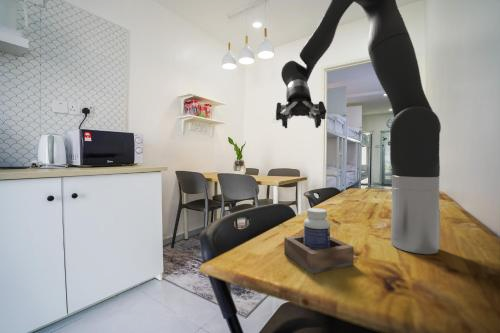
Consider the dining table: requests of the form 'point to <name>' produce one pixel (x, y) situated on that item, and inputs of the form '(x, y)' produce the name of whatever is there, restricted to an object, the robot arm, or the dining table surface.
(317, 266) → the square tray
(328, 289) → the dining table surface
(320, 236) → the pill bottle
